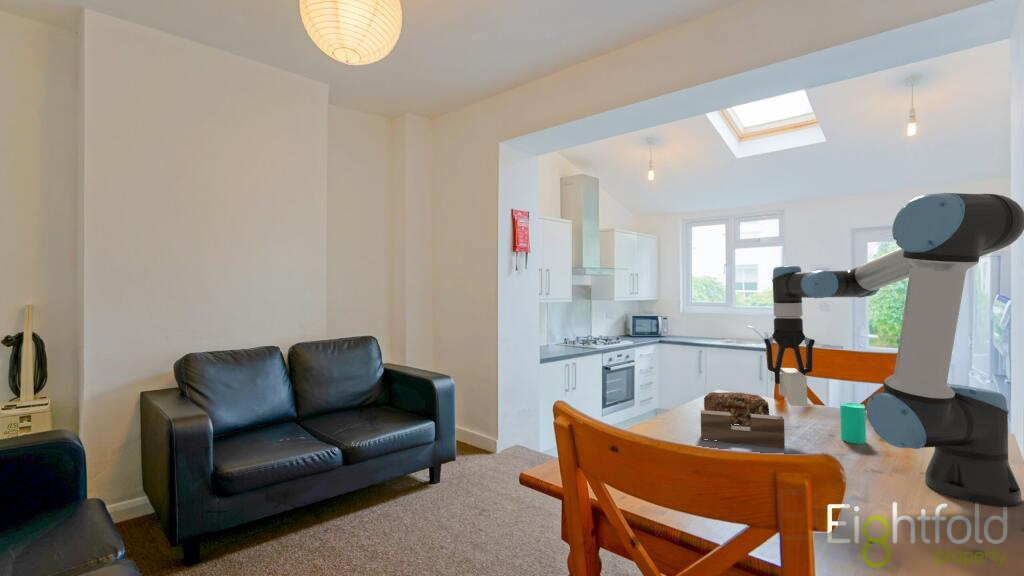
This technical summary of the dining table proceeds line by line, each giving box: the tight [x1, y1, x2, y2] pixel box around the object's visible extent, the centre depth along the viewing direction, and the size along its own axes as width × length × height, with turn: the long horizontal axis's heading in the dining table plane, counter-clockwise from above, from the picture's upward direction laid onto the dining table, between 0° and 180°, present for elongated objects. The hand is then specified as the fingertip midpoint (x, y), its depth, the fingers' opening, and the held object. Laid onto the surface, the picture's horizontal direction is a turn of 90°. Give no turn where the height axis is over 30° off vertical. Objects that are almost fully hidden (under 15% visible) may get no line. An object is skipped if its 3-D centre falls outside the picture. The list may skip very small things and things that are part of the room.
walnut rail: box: [700, 409, 786, 449], centre depth 139 cm, size 4×22×8 cm, turn 69°
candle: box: [839, 399, 867, 445], centre depth 139 cm, size 6×6×12 cm
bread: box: [703, 391, 770, 426], centre depth 160 cm, size 19×11×10 cm, turn 79°
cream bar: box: [780, 367, 808, 407], centre depth 137 cm, size 16×4×8 cm, turn 159°
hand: (790, 395), depth 141 cm, fingers closed on cream bar, 4 cm apart
